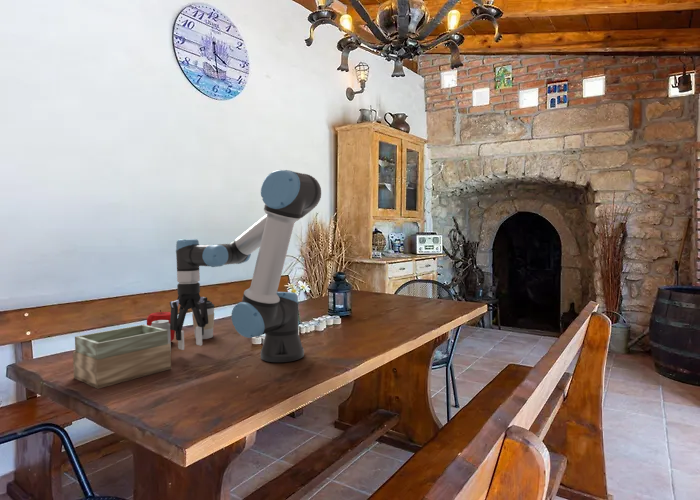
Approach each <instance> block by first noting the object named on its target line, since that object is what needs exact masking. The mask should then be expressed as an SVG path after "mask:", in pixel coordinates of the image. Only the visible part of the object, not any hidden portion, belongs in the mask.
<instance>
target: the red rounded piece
mask: <svg viewBox="0 0 700 500" xmlns="http://www.w3.org/2000/svg"><path fill="white" fill-rule="evenodd" d="M170 318H171V311H162V310H161V309H160V310H159V311H157V312H152V313H150V314H148V316H147V317H146V325H148V326H151V324H152V322H153V321H157V320H168V321H169V323H170ZM170 335H171V342H172V341H173V340H175V335H176V331H175V330H171V329H170Z"/></svg>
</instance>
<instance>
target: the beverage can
mask: <svg viewBox="0 0 700 500" xmlns="http://www.w3.org/2000/svg"><path fill="white" fill-rule="evenodd" d="M151 326H152V327H157V328H161V329H165V330H168V344H170V352H172V347H171V345H172V343H171V342H172V341H171V335H170V323H169V321H168V320H157V321H153V322H152V324H151Z"/></svg>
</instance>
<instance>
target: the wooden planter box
mask: <svg viewBox="0 0 700 500" xmlns="http://www.w3.org/2000/svg"><path fill="white" fill-rule="evenodd" d="M171 352H172V351H171ZM171 352H170V344H168V330H165V329H161V328H157V327H152V326H148V325H147V324H139V325H133V326H127V327H122V328H117V329H115V328H114V329H110V330H103V331H99V332H98V331H97V332H93V333H87V334H83V335H76V336H74V351H72V360H73V361H72V364H73V365H72V366H73V378H74V379H75V380H77V381H80V382H82V383H83V384H84V383H85V385H88V386H90V387H93V388H95V389H97V390H98V389H102V388H106V387H110V386H113V385H117V384H121V383H124V382H128V381H132V380H136V379H138V378H139V379H140V378H142V377H147V376H151V375H153V374H157V373H161V372H165V371H169V370H171V369H172V362H171V361H172V359H171V357H172V355H171Z"/></svg>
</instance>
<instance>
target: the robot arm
mask: <svg viewBox="0 0 700 500" xmlns="http://www.w3.org/2000/svg"><path fill="white" fill-rule="evenodd" d="M260 196H261V198H262V199H261V200H262V201H263V203H264V207H263V211H264V213H265V215H263V216H262V217H261V218H260V219H259V220H258V221H255V223H253V224H252V225H251V226H250V227H249V228H247V229H246V230H245V231H244V232H242V234H241V233H240V235H239V236H238V237H236V238H235V239H234V240H233V241H232V242H230V243H213V244H200V242H199V240H198V238H197V239H196V238H183V239H182V238H181V239H178V240H176V244H175V245H176V246H175V247H176V248H175V254H176V279H177V280H176V281H177V283H178V284H176V285H177V299H175V300H174V301H173V300H172V301H169V306H170V312H171V318H170V329H171V330H175V340H176V341H177V349H179V350H182V351H184V350H185V330H183V327H184V323H185V319H186V315H187V312H188V311H189V310H190V309H191V312H192V311H193V313H194V316H195V319H196V322H197V325H198V326H197V327H196V338H195V344H196V345H197V346H200V347H201V346H203V339H202V335H203V334H204V327H205V325H206V324H208V313H207V300H208V297H205V296H201V295H200V293H201V283H200V281H201V279H200V267H211V268H216V267H219V268H220V267H223V266H226V265H227V266H228V265H240V264H243V263H246V262H248V261H249V259H250V258H251V256H252V253H253V252H254V251H256V250H258V254H257V258H256V263H255V266H254V270H253V275H252V278H251V283H250V287H249V288H247V289H245V290H244V291H243V295H242V301H240V302H238V303H237V304H235V305H234V306H233V309H232V311H231V316H230V318H231V322H232V325H233V326H234V330H235V331H236V332H237V333H238V334H239V335H240V336H242V337H244V338H248V339H253V338H257V337H260V336H262V335H265V336H264V339H263V344H262V348H261V349H260V360H262V361H265V362H268V363H270V362H271V363H289V362H294V361H297V360H300V359H302V358H303V357H304V356H305V348H304V347H303V344H302V341H301V338H300V334H299V305H300V304H299V303H300V302H299V299H298V298H299V297H298V295H297V293H296V292H289V291H278V289H279V286H280V281H281V278H282V274H283V269H284V265H285V261H286V257H287V253H288V249H289V247H290V246H289V245H290V242H291V238H292V234H293V229H294V225H295V223H296V222H297V221H299V220H301V219H303V217H305V216H307V214H309V213H310V212H311V211H313V210H314V209H315V208H316V207H317V206H318V204H319V202H320V201H321V198H322V188H321V184H320V183H319V181H318V180H317V179H316V178H315V177H313V176H312V175H310V174H307V173H301V172H297V171H293V170H287V169H277V170H274V171H272V172H271V173H269V174H267V176H266V177H265V178H264V179H263V181H262V184H261V187H260ZM258 248H259V249H258ZM198 302H200V310H201V314H200V311H199V306H198ZM193 313H192V314H193Z"/></svg>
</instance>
